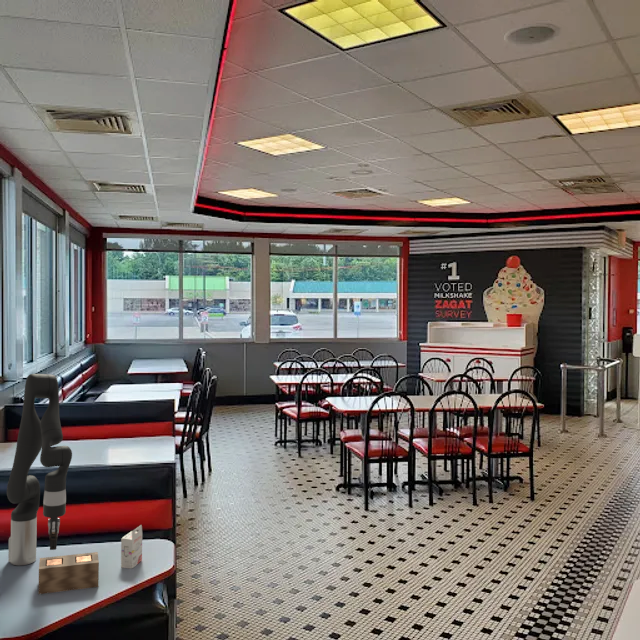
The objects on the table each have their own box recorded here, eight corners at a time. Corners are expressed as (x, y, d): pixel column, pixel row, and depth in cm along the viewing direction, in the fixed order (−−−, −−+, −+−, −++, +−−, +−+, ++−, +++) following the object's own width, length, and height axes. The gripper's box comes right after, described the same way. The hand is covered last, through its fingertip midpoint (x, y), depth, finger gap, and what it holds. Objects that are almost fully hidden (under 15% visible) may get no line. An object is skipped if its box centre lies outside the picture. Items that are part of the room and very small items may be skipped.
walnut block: (38, 594, 233) (38, 569, 232) (39, 582, 242) (39, 558, 242) (98, 586, 240) (98, 562, 239) (97, 575, 249) (97, 552, 249)
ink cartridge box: (130, 559, 265) (131, 523, 264) (142, 560, 264) (143, 524, 263) (120, 567, 257) (120, 530, 256) (131, 569, 256) (132, 531, 255)
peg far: (76, 585, 239) (76, 562, 239) (76, 580, 244) (76, 556, 244) (90, 584, 241) (91, 560, 241) (90, 578, 246) (90, 555, 246)
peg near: (46, 589, 236) (46, 565, 235) (46, 583, 240) (47, 560, 240) (61, 587, 238) (61, 563, 237) (61, 581, 242) (61, 558, 242)
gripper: (65, 507, 233) (64, 555, 233) (66, 495, 245) (64, 541, 246) (42, 508, 230) (40, 557, 231) (44, 496, 242) (42, 542, 243)
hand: (53, 548), depth 238 cm, fingers closed
